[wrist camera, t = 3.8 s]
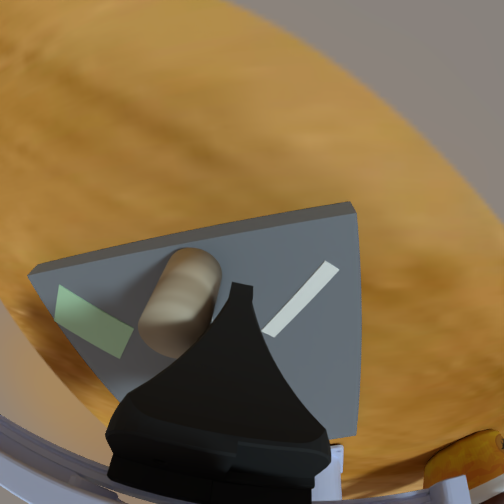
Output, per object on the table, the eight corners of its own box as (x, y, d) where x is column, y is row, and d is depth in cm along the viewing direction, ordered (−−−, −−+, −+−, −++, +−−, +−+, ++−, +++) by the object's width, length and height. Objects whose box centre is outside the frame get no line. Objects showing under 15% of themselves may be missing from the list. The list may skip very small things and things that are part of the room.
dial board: (354, 423, 23) (356, 435, 21) (162, 432, 26) (159, 442, 25) (350, 201, 13) (356, 213, 12) (37, 264, 16) (26, 276, 15)
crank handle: (254, 410, 19) (250, 461, 16) (182, 404, 19) (170, 452, 16) (253, 247, 12) (244, 314, 9) (136, 245, 13) (97, 303, 9)
